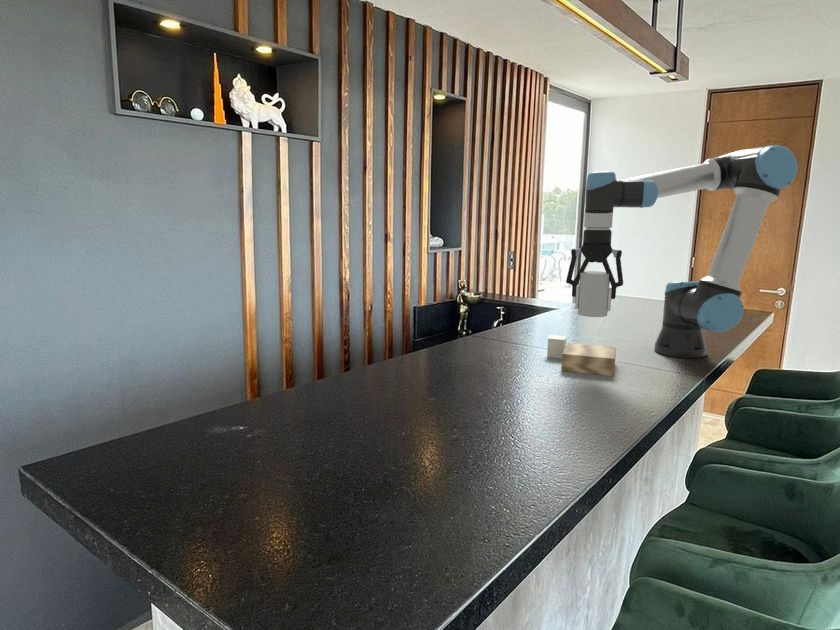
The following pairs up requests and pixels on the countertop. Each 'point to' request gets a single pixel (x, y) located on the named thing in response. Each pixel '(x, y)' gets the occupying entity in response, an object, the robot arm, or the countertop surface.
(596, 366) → the oak block
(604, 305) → the grey cylinder
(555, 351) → the cream block
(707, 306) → the robot arm
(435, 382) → the countertop surface
